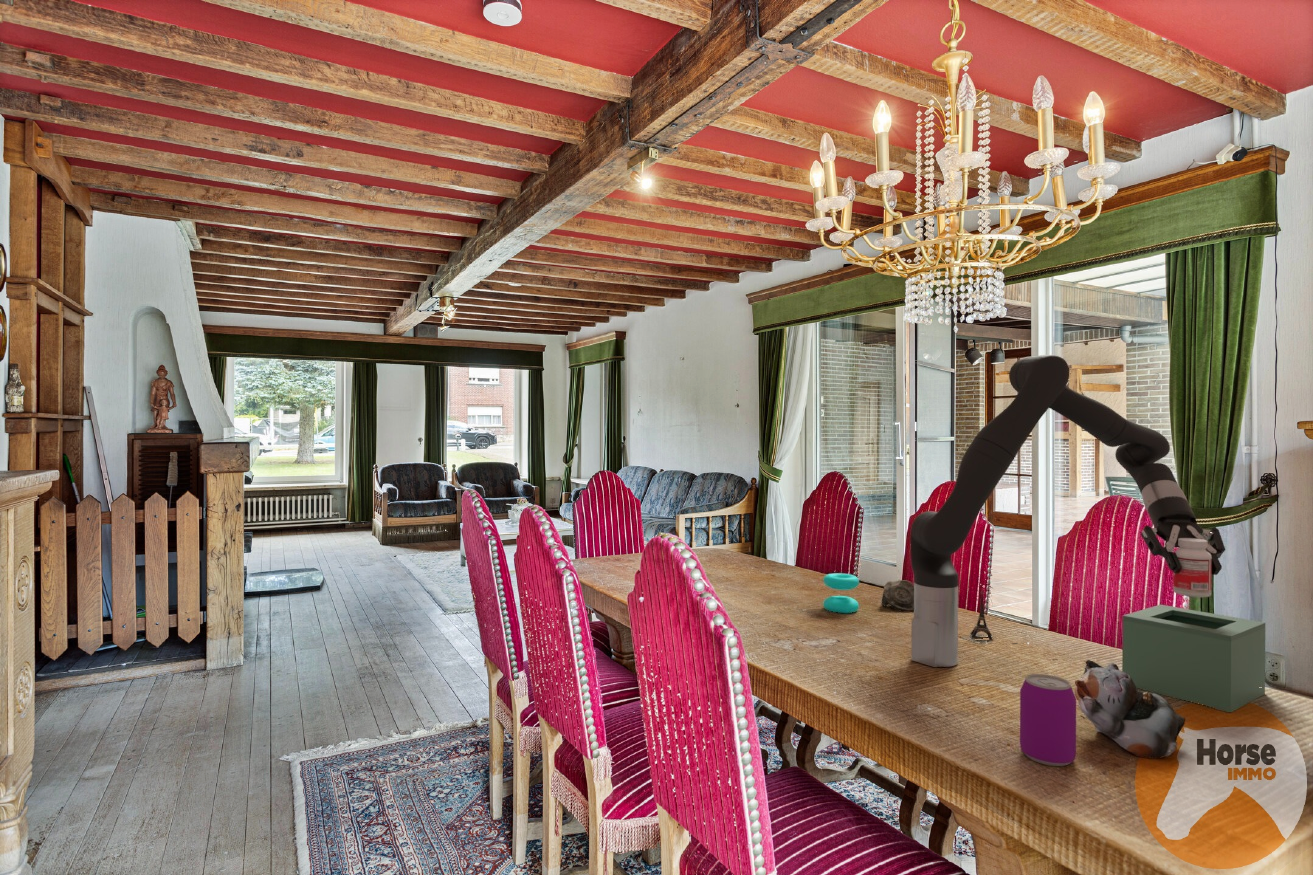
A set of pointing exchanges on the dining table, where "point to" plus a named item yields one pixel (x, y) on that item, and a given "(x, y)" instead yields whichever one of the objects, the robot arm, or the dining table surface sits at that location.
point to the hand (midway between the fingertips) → (1197, 571)
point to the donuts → (841, 602)
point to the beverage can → (1048, 720)
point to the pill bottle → (1193, 568)
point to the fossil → (899, 595)
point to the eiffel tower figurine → (980, 627)
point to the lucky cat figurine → (1128, 712)
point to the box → (1195, 656)
